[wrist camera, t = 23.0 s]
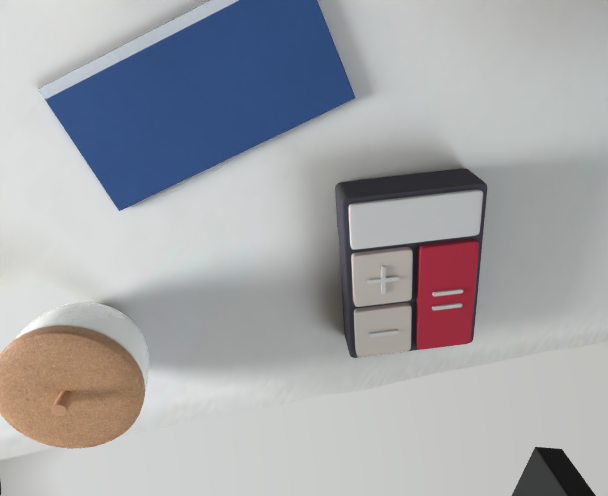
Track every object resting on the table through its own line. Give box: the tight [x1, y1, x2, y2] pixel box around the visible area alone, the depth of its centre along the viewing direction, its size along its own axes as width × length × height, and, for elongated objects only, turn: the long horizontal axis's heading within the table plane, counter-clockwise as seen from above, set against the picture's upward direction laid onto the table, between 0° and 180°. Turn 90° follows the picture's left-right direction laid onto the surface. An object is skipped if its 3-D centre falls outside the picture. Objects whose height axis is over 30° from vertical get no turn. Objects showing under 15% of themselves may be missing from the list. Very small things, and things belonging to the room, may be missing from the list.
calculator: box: [335, 169, 487, 358], centre depth 41 cm, size 11×4×15 cm
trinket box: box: [0, 302, 149, 448], centre depth 39 cm, size 11×11×9 cm
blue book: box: [39, 0, 355, 211], centre depth 35 cm, size 10×20×1 cm, turn 114°
